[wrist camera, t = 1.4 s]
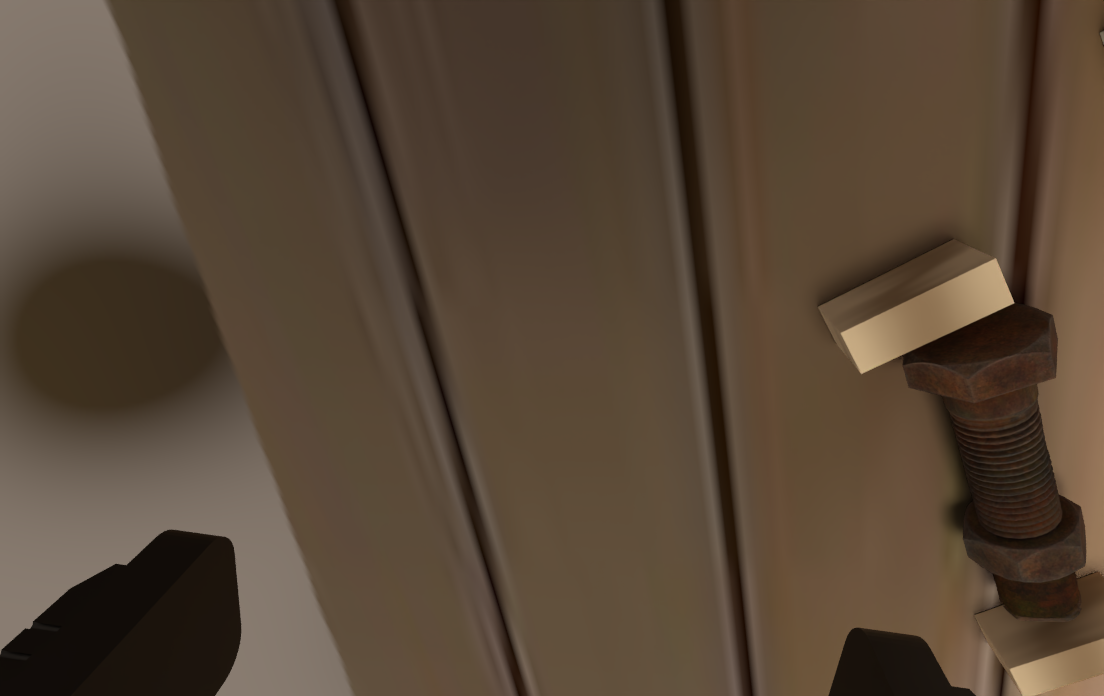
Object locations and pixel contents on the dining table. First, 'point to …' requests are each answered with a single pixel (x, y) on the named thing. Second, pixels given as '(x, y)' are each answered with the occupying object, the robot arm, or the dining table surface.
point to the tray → (1102, 36)
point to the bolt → (1008, 457)
